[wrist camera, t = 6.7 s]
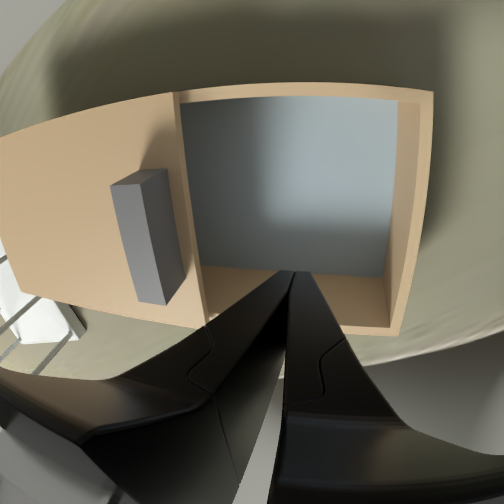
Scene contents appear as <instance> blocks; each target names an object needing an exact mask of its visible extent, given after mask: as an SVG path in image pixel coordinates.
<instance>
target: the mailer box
mask: <svg viewBox="0 0 504 504" xmlns="http://www.w3.org/2000/svg"><path fill="white" fill-rule="evenodd" d="M178 93H179V104H180V114H181V124H182V133H183V142H184V151H185V160H186V168H187V176H188V184H189V192H190V199H191V206H192V214H193V221H194V228H195V235H196V241H197V248H198V254H199V261H200V267H201V273H202V279H203V285H204V291H205V297H206V303H207V309H208V314H209V320H212V319H213V318H215V317H216V316H218V315H219V314H220V313H222V312H223V311H225V310H226V309H227V308H229V307H230V306H231V305H233V304H234V303H236V302H237V301H238V300H240V299H241V298H243V297H244V296H245V295H247V294H248V293H249V292H251V291H252V290H253V289H255V288H256V287H258V286H259V285H260V284H262V283H263V282H264V281H266V280H267V279H268V278H270V277H271V276H273V275H274V274H275V273H277V272H278V271H279V270H293V271H295V272H296V271H310V272H311V273H312V275H313V277H314V279H315V281H316V283H317V284H318V286H319V288H320V290H321V292H322V294H323V295H324V297H325V299H326V301H327V303H328V305H329V307H330V308H331V310H332V312H333V314H334V316H335V318H336V320H337V321H338V323H339V325H340V327H341V329H342V331H343V333H344V334H360V335H380V336H398V334H399V330H400V327H401V323H402V319H403V316H404V312H405V308H406V304H407V300H408V296H409V292H410V287H411V283H412V278H413V274H414V269H415V264H416V259H417V254H418V249H419V243H420V238H421V232H422V226H423V219H424V212H425V205H426V198H427V189H428V181H429V171H430V160H431V146H432V129H433V92H432V91H426V90H418V89H411V88H402V87H393V86H382V85H370V84H354V83H328V82H286V83H260V84H244V85H231V86H220V87H210V88H202V89H193V90H186V91H179V92H178Z"/></svg>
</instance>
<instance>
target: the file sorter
mask: <svg viewBox="0 0 504 504" xmlns="http://www.w3.org/2000/svg"><path fill="white" fill-rule="evenodd" d="M0 313H1V315H2V316H3V318H4V319H5V321H6V323H5V324H4V325H3V326H1V327H0V335H1V334H3V333H4V332H5V331H6V330H7V329H8V328H9V327H10V328H11V330H12V331H13V333H14V334H15V336H16V337H17V338H18V339H17V340H16V341H15V342H14V343H13V344H12V345H11V346H10V347H9V348H8V349H7V350H6V351H5V352H4V353H3V354H2V355H1V356H0V362H1V361H2V360H3V359H4V358H5V357H6V356H7V355H8V354H9V353H10V352H11V351H12V350H13V349H14V348H15V347H16V346H17V345H18V344H19V343H20V342H21V344H35V343H49V342H59V343H58V344H57V345H56V346H55V347H54V349H53V350H52V351H51V352H50V353H49V354H48V355H47V356H46V358H45V359H44V360H43V361H42V362H41V363H40V364H39V365H38V367H37V368H36V369H35V370H34V371H33V372H32V375H39V374H40V372H41V371H42V370H43V369H44V368H45V366H46V365H47V364H48V363H49V362H50V361H51V360H52V358H53V357H54V356H55V355H56V354H57V353H58V352H59V350H60V349H61V348H62V347H63V346H64V345H65V344H66V343H67V341H72V340H79V339H80V338H81V337H82V336H83V335H84V334H85V333H86V330H85V328H84V327H83V325H82V324H81V322H80V321H79V319H78V318H77V316H76V315H75V313H74V312H73V310H72V309H71V307H70V306H69V304H67V303H62V302H58V301H54V300H50V299H46V298H42V297H38V296H34V295H31V294H27V293H23V292H21V290H20V288H19V286H18V283H17V281H16V278H15V276H14V274H13V271H12V269H11V266H10V263H9V261H8V258H7V255H6V253H5V250H4V247H3V244H2V241H1V238H0Z"/></svg>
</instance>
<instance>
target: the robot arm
mask: <svg viewBox="0 0 504 504" xmlns="http://www.w3.org/2000/svg"><path fill="white" fill-rule="evenodd" d="M284 358H285V372H284V390H283V409H282V420H281V429H280V435H279V441H278V447H277V452H276V458H275V463H274V469H273V474H272V479H271V484H270V489H269V495H268V500H267V504H504V455H489V454H483V453H479V452H475V451H472V450H469V449H466V448H463V447H460V446H457V445H455V444H451V443H449V442H446V441H443V440H440V439H438V438H435V437H432V436H430V435H427V434H424V433H422V432H419V431H417V430H414V429H413V428H411V427H410V426H408V425H407V424H406V423H405V422H404V421H403V420H401V418H400V417H399V416H398V415H397V413H396V412H395V411H394V409H393V408H392V407H391V406H390V404H389V403H388V401H387V400H386V398H385V397H384V396H383V394H382V393H381V392H380V390H379V389H378V388H377V386H376V385H375V384H374V382H373V381H372V379H371V378H370V377H369V375H368V374H367V372H366V371H365V369H364V368H363V366H362V365H361V364H360V362H359V360H358V358H357V357H356V355H355V353H354V351H353V350H352V348H351V346H350V344H349V342H348V340H346V337H345V335H344V333H343V331H342V329H341V327H340V325H339V323H338V321H337V320H336V318H335V316H334V314H333V312H332V310H331V308H330V307H329V305H328V303H327V301H326V299H325V297H324V295H323V294H322V292H321V290H320V288H319V286H318V284H317V283H316V281H315V279H314V277H313V275H312V273H311V272H310V271H296V272H295V271H293V270H279V271H278V272H277V273H275V274H274V275H273V276H271V277H270V278H268V279H267V280H266V281H264V282H263V283H262V284H260V285H259V286H258V287H256V288H255V289H253V290H252V291H251V292H249V293H248V294H247V295H245V296H244V297H243V298H241V299H240V300H238V301H237V302H236V303H234V304H233V305H231V306H230V307H229V308H227V309H226V310H225V311H223V312H222V313H220V314H219V315H218V316H216V317H215V318H213V319H212V320H211V321H209V322H208V323H206V324H205V326H202V327H201V328H199V329H198V330H196V331H195V332H194V333H192V334H191V335H189V336H188V337H186V338H184V339H183V340H181V341H180V342H178V343H177V344H175V345H173V346H172V347H170V348H168V349H166V350H165V351H163V352H161V353H160V354H158V355H156V356H154V357H152V358H150V359H149V360H147V361H145V362H143V363H141V364H139V365H137V366H136V367H134V368H132V369H130V370H128V371H126V372H124V373H122V374H120V375H118V376H116V377H113V378H110V379H105V380H80V379H68V378H58V377H48V376H40V375H32V374H25V373H19V372H15V371H10V370H7V369H4V368H2V367H0V426H1V427H2V428H3V430H2V431H1V433H0V504H232V503H233V500H234V498H235V495H236V493H237V490H238V488H239V484H240V483H241V480H242V478H243V475H244V472H245V470H246V467H247V465H248V462H249V459H250V457H251V454H252V451H253V448H254V446H255V443H256V440H257V437H258V435H259V432H260V429H261V427H262V424H263V421H264V418H265V415H266V412H267V409H268V407H269V403H270V401H271V398H272V395H273V392H274V389H275V386H276V383H277V380H278V377H279V374H280V371H281V368H282V365H283V361H284Z"/></svg>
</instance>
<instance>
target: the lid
mask: <svg viewBox="0 0 504 504" xmlns="http://www.w3.org/2000/svg"><path fill="white" fill-rule="evenodd" d="M0 238H1V241H2V244H3V247H4V250H5V253H6V255H7V258H8V261H9V263H10V266H11V269H12V271H13V274H14V276H15V278H16V281H17V283H18V286H19V288H20V290H21V292H23V293H27V294H31V295H34V296H38V297H42V298H46V299H50V300H54V301H58V302H62V303H67V304H71V305H75V306H80V307H84V308H89V309H93V310H98V311H102V312H107V313H112V314H117V315H122V316H127V317H132V318H137V319H143V320H148V321H154V322H160V323H165V324H171V325H177V326H184V327H190V328H196V329H199V328H201V327H202V326H205V324H206V323H208V322H209V321H210V320H209V314H208V309H207V303H206V297H205V291H204V285H203V279H202V273H201V267H200V261H199V254H198V248H197V241H196V235H195V228H194V221H193V214H192V206H191V199H190V192H189V184H188V176H187V168H186V160H185V151H184V142H183V133H182V124H181V114H180V104H179V93H178V91H177V92H169V93H163V94H157V95H151V96H146V97H140V98H135V99H130V100H125V101H121V102H116V103H112V104H107V105H103V106H99V107H95V108H91V109H87V110H83V111H80V112H76V113H72V114H69V115H65V116H62V117H59V118H55V119H52V120H49V121H46V122H42V123H39V124H36V125H33V126H31V127H28V128H25V129H22V130H19V131H16V132H14V133H11V134H8V135H6V136H3V137H1V138H0Z"/></svg>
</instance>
